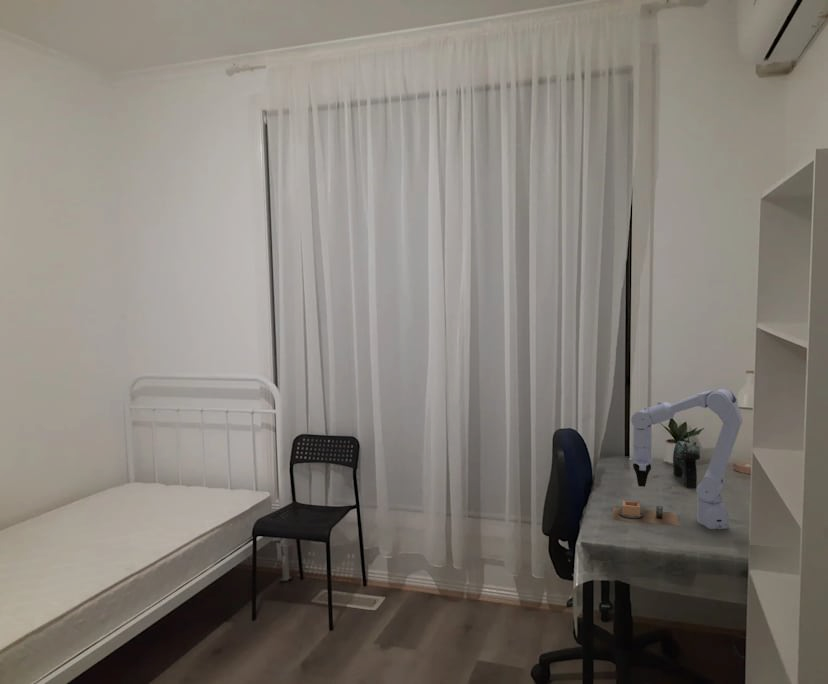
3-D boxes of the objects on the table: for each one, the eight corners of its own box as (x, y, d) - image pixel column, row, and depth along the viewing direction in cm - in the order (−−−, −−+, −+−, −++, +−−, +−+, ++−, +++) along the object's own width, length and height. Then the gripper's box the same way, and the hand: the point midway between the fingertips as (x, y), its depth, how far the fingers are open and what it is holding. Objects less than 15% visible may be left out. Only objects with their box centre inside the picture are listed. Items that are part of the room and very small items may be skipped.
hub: (642, 512, 209) (643, 502, 209) (643, 520, 202) (643, 510, 202) (618, 510, 212) (618, 500, 212) (618, 517, 205) (618, 508, 204)
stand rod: (662, 516, 205) (662, 506, 205) (662, 518, 203) (663, 508, 203) (655, 516, 206) (656, 505, 205) (656, 518, 204) (656, 507, 203)
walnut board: (676, 517, 208) (676, 512, 208) (679, 530, 197) (679, 526, 197) (613, 511, 215) (613, 507, 214) (612, 524, 203) (612, 519, 203)
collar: (639, 510, 209) (639, 501, 208) (640, 516, 204) (640, 507, 203) (622, 509, 210) (622, 500, 210) (622, 514, 205) (622, 505, 205)
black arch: (700, 489, 236) (702, 437, 235) (682, 489, 237) (683, 437, 236) (684, 474, 256) (685, 425, 254) (667, 474, 257) (668, 425, 255)
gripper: (629, 440, 219) (628, 478, 220) (629, 450, 205) (629, 491, 206) (651, 441, 217) (650, 480, 218) (653, 452, 203) (652, 493, 204)
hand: (641, 485), depth 212 cm, fingers closed
